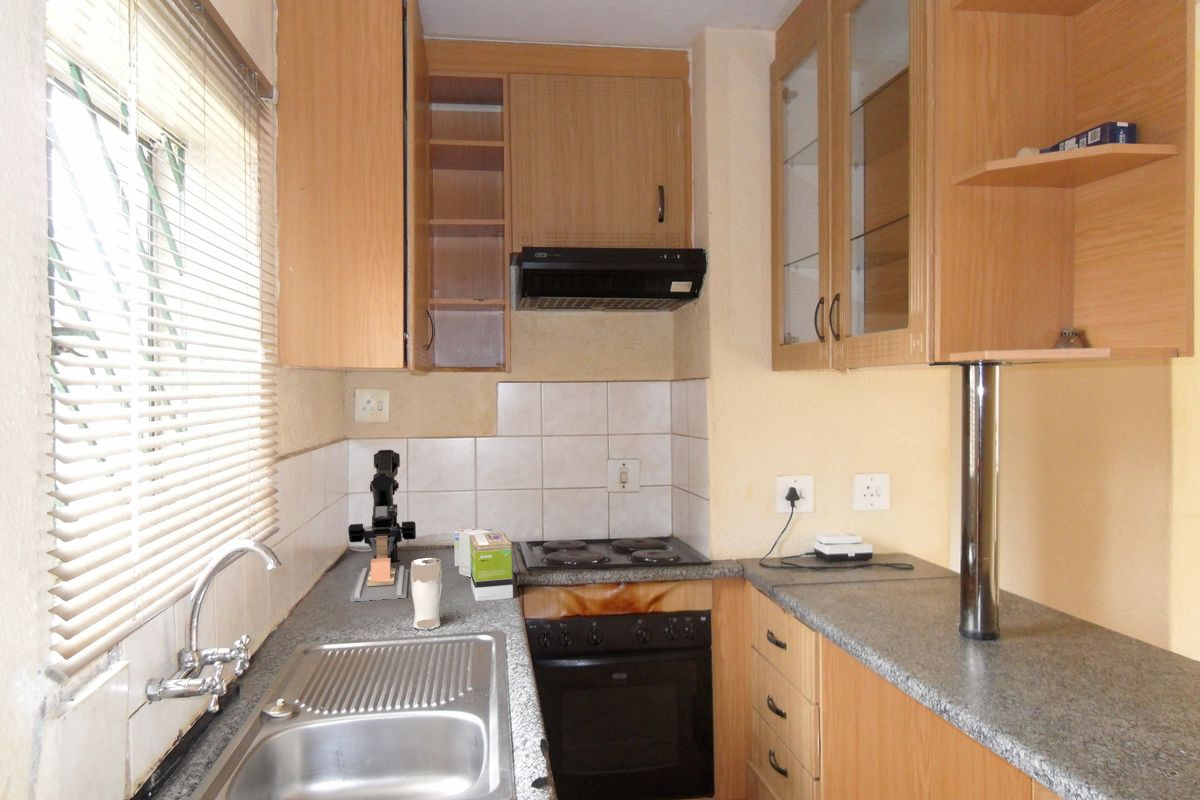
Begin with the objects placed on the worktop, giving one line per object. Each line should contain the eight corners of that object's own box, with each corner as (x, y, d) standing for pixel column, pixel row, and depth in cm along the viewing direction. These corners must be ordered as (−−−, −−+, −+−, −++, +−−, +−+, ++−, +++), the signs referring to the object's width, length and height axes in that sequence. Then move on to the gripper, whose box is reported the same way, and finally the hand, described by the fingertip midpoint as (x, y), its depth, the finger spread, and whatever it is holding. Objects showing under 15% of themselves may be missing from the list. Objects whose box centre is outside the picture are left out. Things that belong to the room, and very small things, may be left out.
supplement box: (471, 578, 223) (471, 534, 223) (458, 574, 228) (457, 531, 228) (493, 574, 228) (493, 531, 228) (479, 570, 233) (479, 528, 233)
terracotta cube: (372, 576, 216) (371, 558, 216) (390, 575, 217) (390, 557, 217) (371, 581, 211) (370, 562, 211) (390, 579, 212) (389, 561, 212)
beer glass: (415, 622, 180) (414, 557, 180) (445, 622, 180) (444, 557, 180) (407, 631, 174) (406, 564, 173) (438, 631, 173) (437, 564, 173)
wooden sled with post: (370, 573, 225) (370, 535, 225) (395, 571, 227) (395, 533, 227) (366, 586, 210) (366, 545, 210) (393, 584, 211) (393, 544, 211)
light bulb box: (493, 562, 244) (492, 527, 244) (488, 567, 237) (487, 531, 237) (459, 561, 245) (459, 527, 245) (453, 566, 238) (453, 531, 238)
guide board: (358, 575, 228) (358, 568, 228) (408, 572, 231) (408, 565, 231) (349, 602, 199) (349, 593, 199) (406, 598, 202) (406, 589, 202)
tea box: (469, 588, 212) (468, 533, 212) (506, 585, 215) (505, 531, 214) (474, 602, 197) (473, 544, 197) (514, 599, 200) (513, 541, 200)
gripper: (348, 496, 224) (345, 541, 213) (415, 493, 228) (415, 538, 217) (351, 519, 231) (348, 564, 221) (415, 516, 236) (415, 560, 225)
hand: (382, 556), depth 221 cm, fingers closed on wooden sled with post, 3 cm apart
